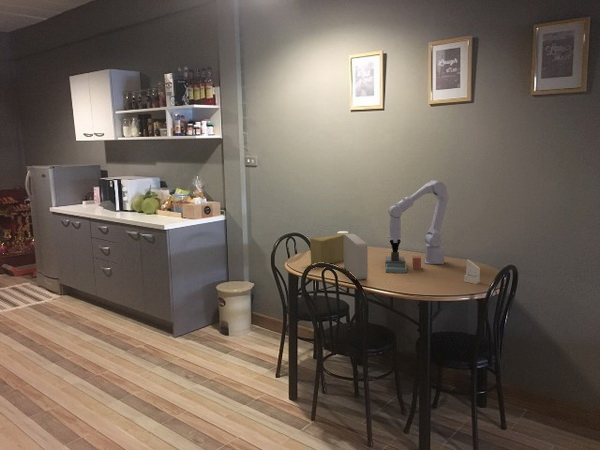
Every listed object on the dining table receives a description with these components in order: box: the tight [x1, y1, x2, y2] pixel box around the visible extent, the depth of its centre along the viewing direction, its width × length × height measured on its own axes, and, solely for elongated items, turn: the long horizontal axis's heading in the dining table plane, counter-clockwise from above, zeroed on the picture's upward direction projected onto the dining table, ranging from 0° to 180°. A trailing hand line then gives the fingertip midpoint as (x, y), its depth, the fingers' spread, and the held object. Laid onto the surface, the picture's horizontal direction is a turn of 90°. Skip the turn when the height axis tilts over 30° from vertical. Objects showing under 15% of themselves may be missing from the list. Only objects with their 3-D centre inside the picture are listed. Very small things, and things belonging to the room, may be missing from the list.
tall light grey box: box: [343, 233, 369, 281], centre depth 254 cm, size 29×8×18 cm, turn 8°
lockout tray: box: [385, 263, 408, 274], centre depth 259 cm, size 10×10×2 cm
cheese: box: [309, 234, 344, 265], centre depth 277 cm, size 22×10×15 cm, turn 126°
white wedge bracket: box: [463, 258, 481, 285], centre depth 235 cm, size 4×10×9 cm, turn 45°
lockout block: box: [412, 255, 422, 270], centre depth 261 cm, size 4×4×6 cm
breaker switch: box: [390, 251, 400, 261], centre depth 266 cm, size 4×3×4 cm
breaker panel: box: [384, 256, 406, 268], centre depth 270 cm, size 10×11×4 cm
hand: (395, 253), depth 270 cm, fingers closed
